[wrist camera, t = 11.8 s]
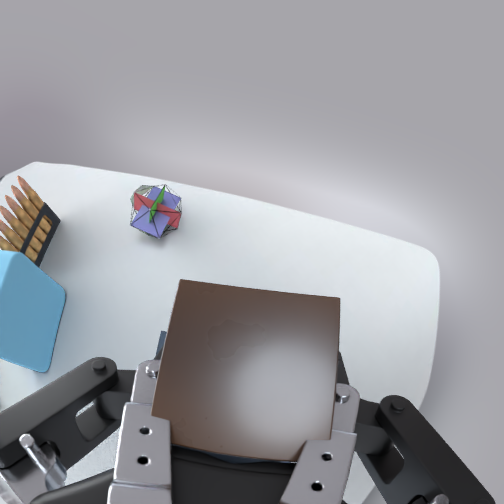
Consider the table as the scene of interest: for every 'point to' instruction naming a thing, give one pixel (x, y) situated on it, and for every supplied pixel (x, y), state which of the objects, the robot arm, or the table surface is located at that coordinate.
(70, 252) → the table surface
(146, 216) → the geometric puzzle
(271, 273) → the table surface
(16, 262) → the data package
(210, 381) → the block
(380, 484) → the robot arm
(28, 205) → the ammunition clip
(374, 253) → the table surface
